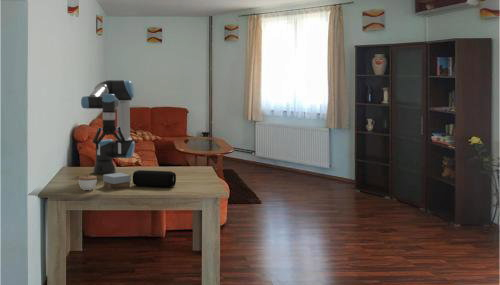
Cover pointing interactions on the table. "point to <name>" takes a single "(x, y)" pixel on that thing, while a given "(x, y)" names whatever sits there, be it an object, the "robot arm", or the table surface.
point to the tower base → (117, 185)
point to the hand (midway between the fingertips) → (109, 154)
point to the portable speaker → (154, 178)
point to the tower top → (116, 178)
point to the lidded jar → (87, 182)
